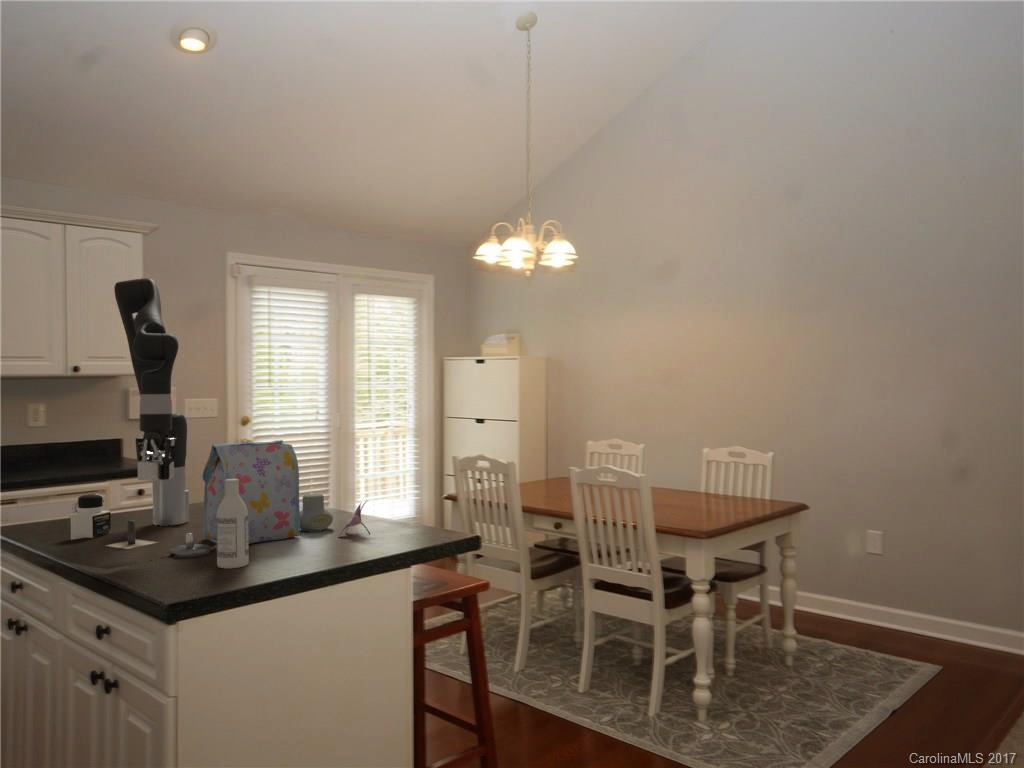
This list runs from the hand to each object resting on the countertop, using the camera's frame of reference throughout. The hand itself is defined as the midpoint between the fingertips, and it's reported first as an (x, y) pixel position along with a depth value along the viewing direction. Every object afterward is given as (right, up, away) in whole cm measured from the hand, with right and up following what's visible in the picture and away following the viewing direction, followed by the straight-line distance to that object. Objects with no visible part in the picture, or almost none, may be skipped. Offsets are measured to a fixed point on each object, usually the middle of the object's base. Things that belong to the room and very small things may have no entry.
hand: (156, 478), depth 202 cm
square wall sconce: (0, 0, 0) cm, 0 cm away
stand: (-9, -18, +6) cm, 21 cm away
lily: (+46, -18, +20) cm, 54 cm away
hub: (+9, -18, -3) cm, 21 cm away
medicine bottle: (-26, -19, +19) cm, 38 cm away
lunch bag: (+19, -18, +15) cm, 31 cm away
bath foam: (+25, -18, -16) cm, 35 cm away
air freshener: (+33, -18, +28) cm, 47 cm away
